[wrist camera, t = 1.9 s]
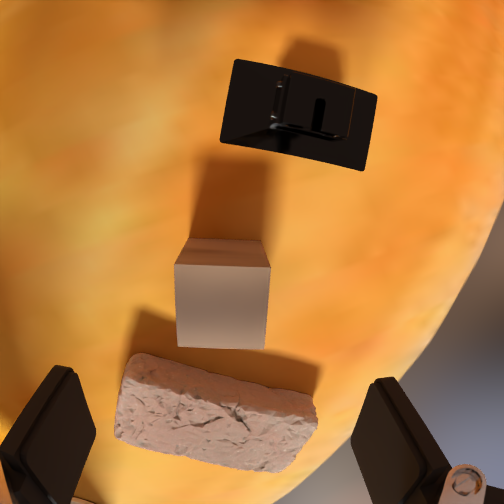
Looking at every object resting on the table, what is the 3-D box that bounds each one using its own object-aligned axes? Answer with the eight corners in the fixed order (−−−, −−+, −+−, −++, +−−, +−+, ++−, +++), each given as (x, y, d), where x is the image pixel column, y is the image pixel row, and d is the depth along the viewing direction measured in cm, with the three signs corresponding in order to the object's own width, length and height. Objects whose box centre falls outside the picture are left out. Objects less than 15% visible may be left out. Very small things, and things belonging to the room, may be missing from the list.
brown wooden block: (256, 305, 24) (264, 349, 18) (189, 303, 23) (177, 346, 18) (260, 240, 22) (270, 267, 17) (188, 237, 22) (174, 264, 16)
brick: (315, 391, 27) (327, 425, 22) (279, 446, 29) (285, 479, 24) (134, 341, 24) (118, 374, 20) (122, 407, 26) (109, 440, 22)
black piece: (198, 149, 21) (189, 145, 16) (219, 47, 19) (217, 19, 14) (376, 186, 22) (408, 193, 18) (391, 91, 20) (425, 79, 16)
